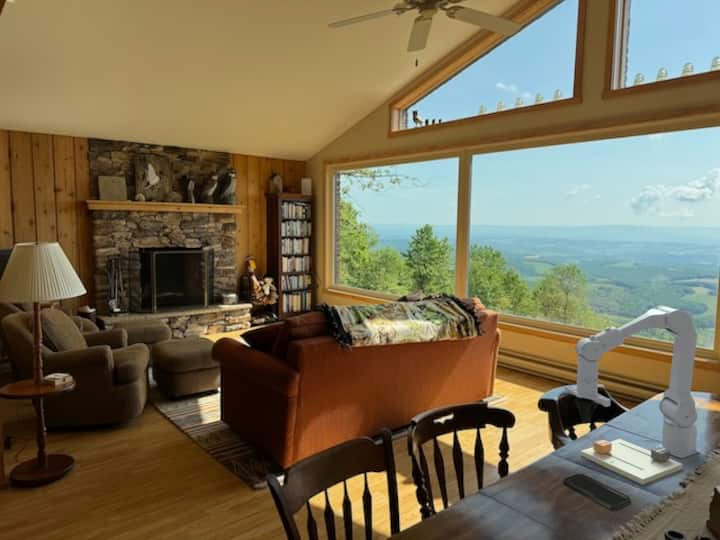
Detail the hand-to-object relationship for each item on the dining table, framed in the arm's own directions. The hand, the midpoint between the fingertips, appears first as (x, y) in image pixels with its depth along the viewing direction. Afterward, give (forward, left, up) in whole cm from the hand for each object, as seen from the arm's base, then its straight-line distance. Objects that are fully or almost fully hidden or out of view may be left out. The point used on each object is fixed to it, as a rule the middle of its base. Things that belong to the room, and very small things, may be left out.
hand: (585, 422), depth 151 cm
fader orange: (0, +6, -6) cm, 9 cm away
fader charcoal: (-10, +17, -7) cm, 21 cm away
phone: (+19, +18, -9) cm, 28 cm away
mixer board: (-4, +12, -8) cm, 15 cm away
